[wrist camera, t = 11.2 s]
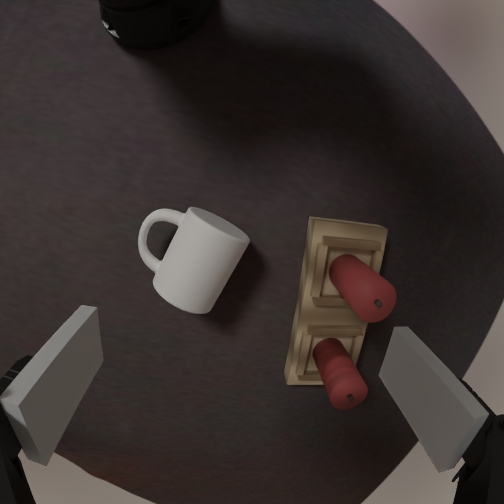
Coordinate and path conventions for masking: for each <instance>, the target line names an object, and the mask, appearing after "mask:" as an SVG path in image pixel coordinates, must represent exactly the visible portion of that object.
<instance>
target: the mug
mask: <svg viewBox="0 0 504 504" xmlns="http://www.w3.org/2000/svg"><path fill="white" fill-rule="evenodd" d="M157 221H166V222H170V223H173V224H176V225H178V229H177V231H176V233H175V235H174V237H173V239H172V241H171V243H170V245H169V247H168V250H167V252H166V254H165V256H164V258H163V260H162V261H159V260H158V259H157V258H155V257H154V256H153V255H152V254H151V253H150V251H149V250H148V248H147V244H146V239H147V234H148V231H149V229H150V227H151V226H152V224H153V223H155V222H157ZM249 243H250V239H249V237H248V236H247V235H246V234H245V233H244V232H243V231H241V230H240V229H239V228H237V227H236V226H234V225H233V224H231V223H229V222H228V221H226V220H224V219H222V218H220V217H219V216H217V215H215V214H212V213H210V212H208V211H206V210H203V209H200V208H196V207H190V208H188V210H187V212H186V213H185V214H184V213H181V212H179V211H176V210H172V209H159V210H156V211H154V212H152V213H151V214H149V215H148V216H147V218H146V219H145V220H144V222H143V224H142V226H141V229H140V232H139V237H138V247H139V252H140V255H141V258H142V260H143V261H144V263H145V264H146V265H147V266H148V267H149V268H150V269H151V270H152V271H154V272H155V277H154V279H153V285H154V288H155V289H156V291H157V292H158V293H159V295H160V296H161V297H163V298H164V299H165V300H166V301H168V302H169V303H170V304H172V305H174V306H175V307H177V308H179V309H182V310H184V311H187V312H190V313H195V314H205V313H208V312H209V311H210V310H211V309H212V307H213V306H214V304H215V302H216V300H217V299H218V297H219V295H220V293H221V292H222V290H223V288H224V286H225V285H226V283H227V281H228V279H229V278H230V276H231V274H232V272H233V271H234V269H235V267H236V265H237V264H238V262H239V260H240V258H241V257H242V255H243V253H244V251H245V250H246V248H247V246H248V244H249Z"/></svg>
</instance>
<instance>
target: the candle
mask: <svg viewBox="0 0 504 504" xmlns="http://www.w3.org/2000/svg"><path fill="white" fill-rule="evenodd" d="M329 279H330V281H331V282H332V284H333V285H334V286H335V287H336V289H337V290H338V291H339V292H340V293H341V295H342V296H343V297H344V298H345V300H346V301H347V302H348V303H349V305H350V306H351V307H352V308H353V310H354V311H355V312H356V313H357V315H358V316H359V317H360V318H361V319H362V320H364V321H366V322H371V323H373V322H378V321H381V320H383V319H384V318H386V317H387V316H388V315H389V314H390V313H391V312H392V310H393V308H394V306H395V303H396V291H395V288H394V287H393V285H392V284H390V283H389V282H388V281H387V280H385V279H384V278H383V277H382V276H380V275H379V274H378V273H377V272H375V271H374V270H373V269H371V268H370V267H369V266H368V265H366V264H365V263H364V262H362V261H361V260H360V259H358V258H357V257H356V256H354V255H352V254H343V255H340V256H338V257H337V258H335V259H334V260H333V262H332V263H331V265H330V267H329Z"/></svg>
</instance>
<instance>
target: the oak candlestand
mask: <svg viewBox="0 0 504 504" xmlns="http://www.w3.org/2000/svg"><path fill="white" fill-rule="evenodd" d="M387 232H388V229H387V228H384V227H382V226H380V225H376V224H368V223H360V222H352V221H344V220H336V219H327V218H318V217H309V223H308V230H307V238H306V245H305V252H304V259H303V265H302V272H301V279H300V285H299V291H298V298H297V304H296V310H295V316H294V322H293V327H292V333H291V339H290V344H289V350H288V355H287V361H286V366H285V371H284V374H285V378H286V383H287V385H323V384H324V387H325V389H326V392H327V394H328V397H329V399H330V402H331V404H332V406H333V407H334V408H336V409H339V410H347V409H351V408H353V407H355V406H357V405H359V404H360V403H361V402H362V401H363V400H364V399H365V397H366V395H367V393H368V388H367V385H366V384H365V382H364V380H363V378H362V377H361V375H360V373H359V371H358V370H357V368H356V363H357V360H358V356H359V353H360V349H361V346H362V342H363V339H364V335H365V332H366V328H367V324H368V322H366V321H364V320H362V319H361V318H360V317H359V316H358V315H357V313H356V312H355V311H354V310H353V308H352V307H351V306H350V305H349V303H348V302H347V301H346V300H345V298H344V297H343V296H342V295H341V293H340V292H339V291H338V290H337V289H336V287H335V286H334V285H333V284H332V282H331V281H330V279H329V267H330V265H331V263H332V262H333V260H334V259H335V258H337V257H338V256H340V255H343V254H352V255H354V256H356V257H357V258H358V259H360V260H361V261H362V262H364V263H365V264H366V265H368V266H369V267H370V268H371V269H373V270H374V271H375V272H377V273H378V274H379V273H380V269H381V264H382V259H383V254H384V248H385V243H386V238H387Z"/></svg>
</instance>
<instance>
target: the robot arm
mask: <svg viewBox="0 0 504 504" xmlns="http://www.w3.org/2000/svg"><path fill="white" fill-rule="evenodd" d="M212 3H213V0H99V4H100V12H101V19H102V22H103V25H104V27H105V29H106V30H107V32H108V33H109V34H110V35H111V36H112V37H113V38H114V39H115V40H116V41H118V42H119V43H121V44H122V45H125V46H127V47H130V48H134V49H157V48H162V47H165V46H169V45H171V44H174V43H176V42H178V41H180V40H182V39H184V38H186V37H187V36H189V35H190V34H192V33H193V32H194V31H195V30H196V29H197V28H198V27H199V26H200V25H201V24H202V23H203V22H204V21H205V19H206V18H207V16H208V14H209V12H210V10H211V7H212ZM103 361H104V360H103V354H102V346H101V339H100V330H99V321H98V312H97V307H91V306H85V305H81V306H80V307H79V308H78V309H77V310H76V311H75V312H74V314H73V315H72V316H71V317H70V318H69V319H68V320H67V321H66V322H65V323H64V324H63V325H62V326H61V327H60V328H59V329H58V330H57V332H56V333H55V334H54V335H53V336H52V337H51V338H50V339H49V340H48V341H47V342H46V344H45V345H44V346H43V347H42V348H41V349H40V350H39V351H38V352H37V354H36V355H35V356H34V357H33V356H29V355H27V356H25V357H24V358H22V359H20V360H18V361H17V362H16V363H15V364H14V365H13V366H12V367H11V368H10V371H8V372H7V373H6V374H5V376H4V377H2V379H1V380H0V504H36V503H35V500H34V498H33V495H32V493H31V490H30V487H29V484H28V482H27V479H26V476H25V473H24V470H23V467H22V464H21V461H20V459H19V457H18V454H19V452H20V450H21V449H23V451H24V453H25V455H26V457H27V458H28V459H29V460H32V461H34V462H37V463H39V464H42V465H45V466H47V464H48V462H49V460H50V458H51V456H52V454H53V452H54V450H55V448H56V446H57V444H58V442H59V440H60V438H61V436H62V434H63V433H64V431H65V429H66V427H67V425H68V423H69V421H70V419H71V417H72V416H73V414H74V412H75V410H76V408H77V406H78V405H79V403H80V401H81V399H82V397H83V396H84V394H85V392H86V390H87V388H88V387H89V385H90V383H91V381H92V380H93V378H94V376H95V374H96V373H97V371H98V369H99V367H100V366H101V364H102V362H103ZM379 377H380V379H381V380H382V382H383V383H384V385H385V386H386V388H387V390H388V391H389V393H390V394H391V396H392V397H393V399H394V401H395V402H396V404H397V405H398V407H399V408H400V410H401V412H402V413H403V415H404V416H405V418H406V420H407V421H408V423H409V425H410V426H411V428H412V429H413V431H414V433H415V434H416V436H417V437H418V439H419V441H420V442H421V444H422V446H423V447H424V449H425V451H426V452H427V454H428V456H429V457H430V459H431V461H432V462H433V464H434V466H435V467H436V469H437V470H438V472H439V473H440V472H443V471H446V470H449V469H452V468H454V467H455V466H456V464H457V463H458V461H459V460H460V459H461V457H463V459H464V461H465V463H464V465H463V466H462V467H461V469H460V470H459V471H458V473H457V474H456V475H455V477H454V478H453V480H452V482H454V481H455V480H456V479H457V478H458V477H459V481H458V485H457V490H456V494H455V498H454V502H453V504H504V415H503V414H501V415H498V416H496V415H495V414H494V412H493V411H492V410H491V409H490V408H489V407H488V406H487V405H486V404H485V402H484V401H483V400H482V399H481V398H480V397H478V395H477V394H476V393H475V392H474V391H473V390H472V388H471V387H470V386H469V385H468V384H467V383H466V382H465V381H463V380H462V379H460V378H458V377H457V376H455V375H454V374H453V373H452V372H451V371H450V370H449V369H448V368H447V367H446V366H445V365H444V364H443V363H442V362H441V361H440V360H439V358H438V357H437V356H436V355H435V354H434V353H433V352H432V351H431V350H430V349H429V348H428V347H427V346H426V345H425V344H424V343H423V342H422V341H421V340H420V339H419V338H418V337H417V336H416V335H415V334H414V333H413V332H412V331H411V330H410V329H409V328H408V327H394V329H393V333H392V336H391V339H390V343H389V346H388V349H387V352H386V355H385V358H384V361H383V364H382V367H381V370H380V373H379Z"/></svg>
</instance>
